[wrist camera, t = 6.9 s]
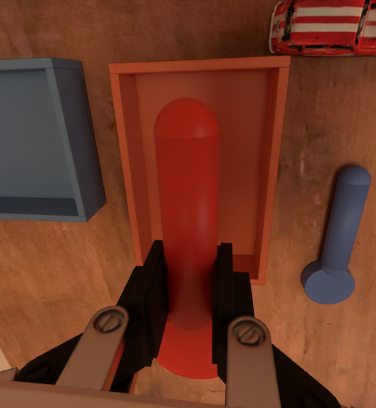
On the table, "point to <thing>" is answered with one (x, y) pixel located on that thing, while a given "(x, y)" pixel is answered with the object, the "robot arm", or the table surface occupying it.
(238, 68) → the red bin
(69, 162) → the blue bin
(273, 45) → the toy car
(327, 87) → the table surface
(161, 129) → the red spoon
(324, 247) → the blue spoon
